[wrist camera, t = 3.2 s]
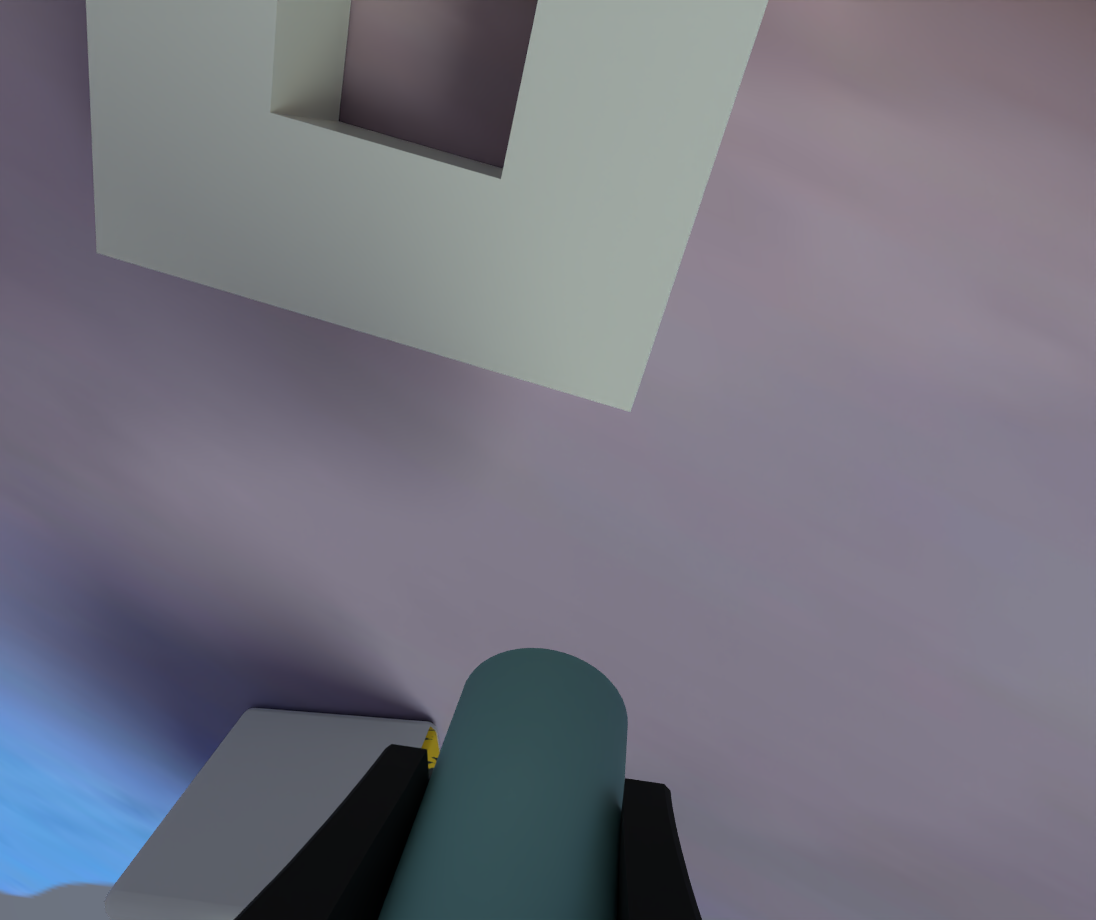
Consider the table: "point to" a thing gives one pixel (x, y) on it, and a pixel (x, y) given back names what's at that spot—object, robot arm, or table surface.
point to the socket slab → (420, 177)
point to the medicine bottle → (254, 810)
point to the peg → (521, 799)
